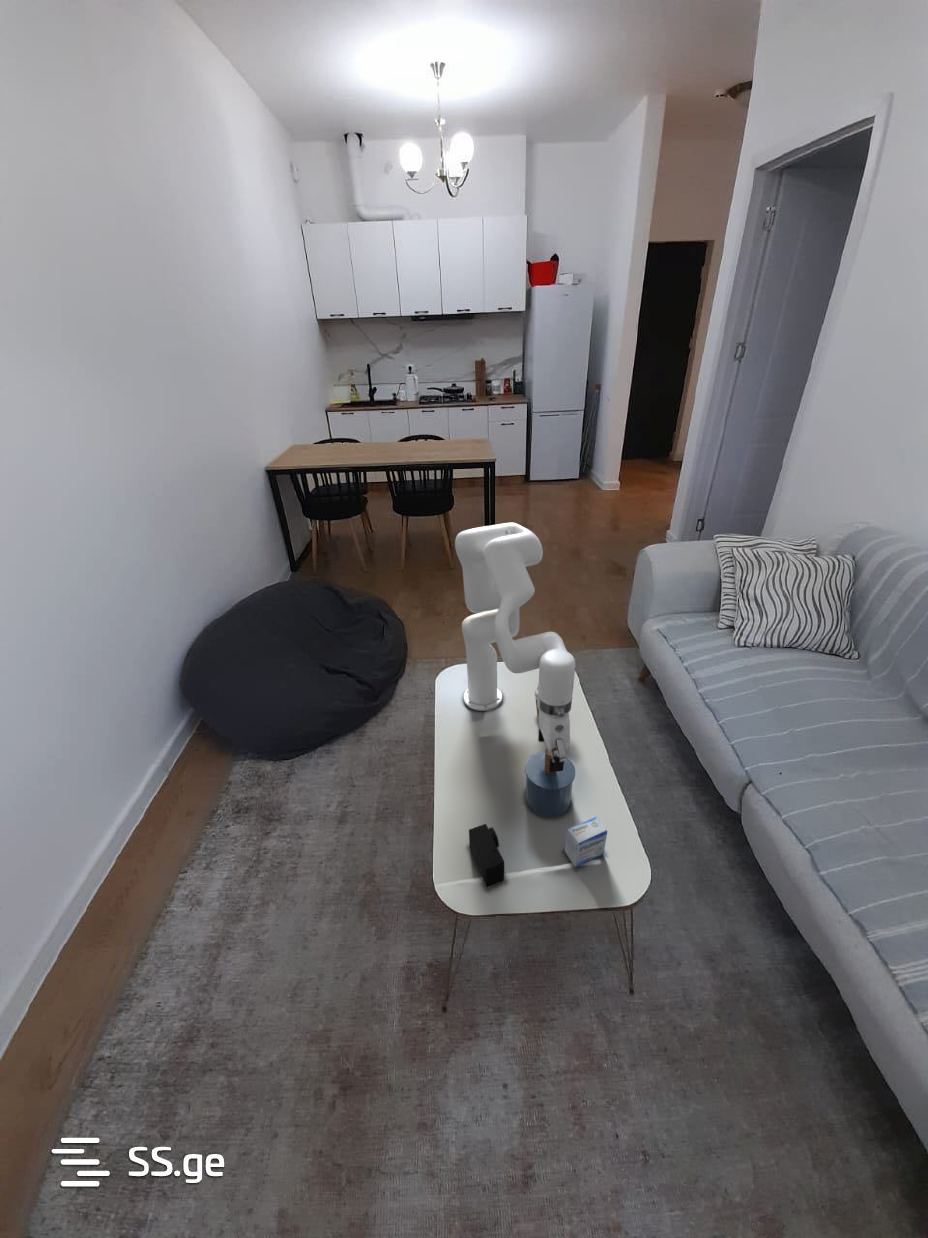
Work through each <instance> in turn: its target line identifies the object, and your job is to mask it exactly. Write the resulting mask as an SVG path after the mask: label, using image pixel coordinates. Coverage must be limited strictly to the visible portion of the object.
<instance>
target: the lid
mask: <svg viewBox="0 0 928 1238" xmlns="http://www.w3.org/2000/svg"><path fill="white" fill-rule="evenodd" d="M554 755H555V757H556V756H558V750H557V751H554ZM550 759H551V751H549V750H548V748H547V747H546V749H545V750H540V751H537V752H534V753H533V754H531V755H530V756H529V757H528V758H527V760H526V761H525V765H524V772H525V777H526V778H528V779H529V781H530V782H531V783H532V784H534V785H535V786H537V787H539V788H541V789H544V790H549V791H557V790H562V789H564V788H566V787H568V786H569V785H570V784H571V783H572V784H573V782H574V781H575V778H576V767H575V765H574V763H573V762H572V760H571V759H570V758H569V757H568V756H566V760H565V762H564V767H563V771H559V772H550V771H549V766H550Z"/></svg>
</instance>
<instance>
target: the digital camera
mask: <svg viewBox="0 0 928 1238" xmlns="http://www.w3.org/2000/svg"><path fill="white" fill-rule="evenodd" d="M468 840H469V849H470V851H471V853H472V856H473V858H474V861H475V863H476V866H477V868H478V870H479V873H480V874H481V878H482V881H483V884H485V887H486V888H490V887H492V886H496V885H498V884H500V883H503V882H504V881H505V861H504V858H503V857H502V855H501V852H500V850H499V847H500V841H499V838H498V835H497V832H496V830H495V828H494V827H493V826H492V827H488V825H487V823H484V824H482V825H478V826H475V827H472V828H469V829H468Z"/></svg>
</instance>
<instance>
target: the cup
mask: <svg viewBox="0 0 928 1238" xmlns="http://www.w3.org/2000/svg"><path fill="white" fill-rule="evenodd" d="M525 779H526V781H525V782H526V783H525V800H526V803H527V805H528V806H529V808H530V809H531V810H532V811H534V812H535V814H539V815H541V816H544V817H557V816H559V815H562V814H564V813H565V812H566V811H567V810H568V809H569V807H570V804H571V799H572V792H573V791H572V788H573V782H572V783H571V784H570V785H569V786H568V787H566V788H564V789H562V790H557V791H549V790H544V789H541V788H539V787H537V786H535V785H534V784H532V783H531V782H530V781H529V779H528V778H527V777H526V778H525Z"/></svg>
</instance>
